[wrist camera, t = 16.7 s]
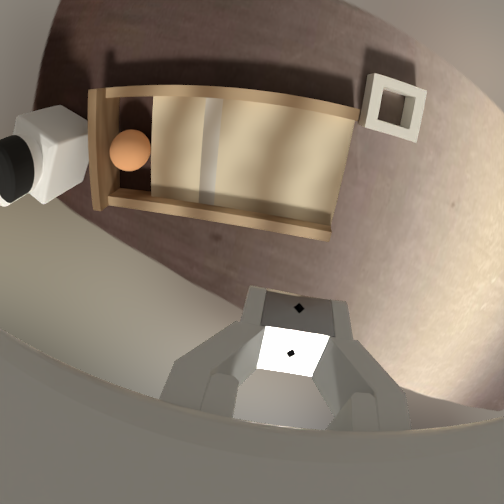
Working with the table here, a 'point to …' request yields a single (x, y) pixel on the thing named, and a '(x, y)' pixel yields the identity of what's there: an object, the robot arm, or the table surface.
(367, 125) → the square ring
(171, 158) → the lane
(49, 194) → the medicine bottle
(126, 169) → the ball
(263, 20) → the table surface
